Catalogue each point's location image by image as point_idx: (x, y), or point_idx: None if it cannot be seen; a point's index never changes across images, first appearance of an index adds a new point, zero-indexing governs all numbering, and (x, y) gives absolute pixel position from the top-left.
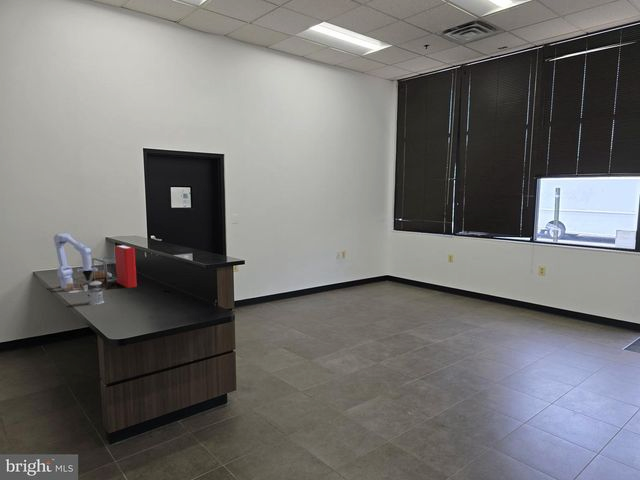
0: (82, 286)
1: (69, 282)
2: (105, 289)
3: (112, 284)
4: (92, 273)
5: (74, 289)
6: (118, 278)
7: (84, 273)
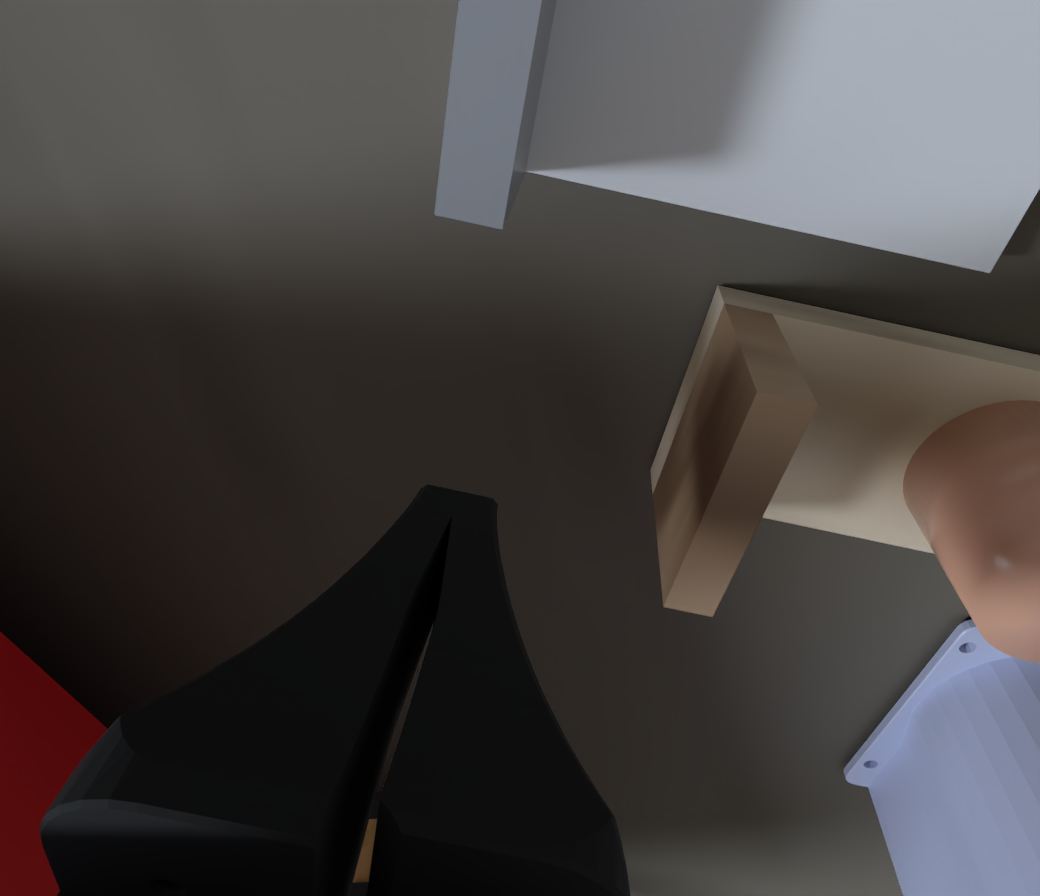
0: (670, 492)
1: (1013, 801)
2: (84, 290)
3: (167, 682)
4: None
5: (880, 420)
6: (26, 802)
7: (499, 776)
